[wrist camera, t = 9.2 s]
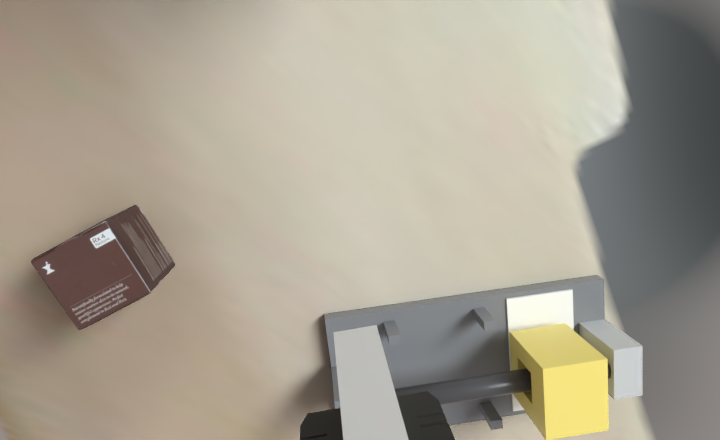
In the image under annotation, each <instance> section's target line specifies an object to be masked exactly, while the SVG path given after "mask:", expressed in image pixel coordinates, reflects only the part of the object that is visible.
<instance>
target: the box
mask: <svg viewBox="0 0 720 440" xmlns="http://www.w3.org/2000/svg"><path fill="white" fill-rule="evenodd" d="M31 263H32V264H33V266H34V267H35V269H36V270H37V271H38V273H39V274H40V276H41V277H42V278H43V280H44V281H45V283H46V284H47V285H48V287H49V288H50V290H51V291H52V292H53V294H54V295H55V297H56V298H57V300H58V301H59V302H60V304H61V305H62V307H63V308H64V310H65V311H66V313H67V314H68V315H69V317H70V318H71V320H72V321H73V323H74V324H75V325H76V327H77V328H78V330H81V329H83V328H86V327H88V326H90V325H92V324H94V323H95V322H97V321H100V320H101V319H103V318H105V317H107V316H109V315H111V314H113V313H114V312H116V311H118V310H120V309H122V308H124V307H126V306H128V305H129V304H131V303H133V302H135V301H137V300H139V299H141V298H143V297H144V296H146V295H148V294H149V293H151V291H152V290H153V289H154V288H155V287H156V286H157V285H158V284H159V283H160V282H161V280H162V279H163V278H164V277H165V276H166V275H167V274H168V273H169V272H170V270H171V269H172V268H173V267H174V266H175V263H174V261H173V259H172V258H171V256H170V255H169V253H168V252H167V250H166V249H165V247H164V246H163V244H162V243H161V241H160V240H159V238H158V236H157V235H156V233H155V232H154V230H153V228H152V227H151V225H150V224H149V222H148V220H147V219H146V217H145V215H144V214H143V212H142V211H141V209H140V208H139V207H138V205H134V206H132V207H130V208H128V209H126V210H124V211H122V212H120V213H118V214H116V215H114V216H112V217H110V218H108V219H106V220H104V221H102V222H100V223H98V224H96V225H95V226H93V227H91V228H89V229H87V230H85V231H83V232H82V233H80V234H78V235H76V236H74V237H72V238H70V239H69V240H67V241H65V242H63V243H61V244H59V245H58V246H56V247H54V248H52V249H50V250H49V251H46V252H45V253H43V254H41V255H39V256H37V257H36V258H34V259H33V260H32V261H31Z"/></svg>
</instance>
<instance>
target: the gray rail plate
mask: <svg viewBox="0 0 720 440" xmlns="http://www.w3.org/2000/svg"><path fill="white" fill-rule="evenodd" d="M324 317H325V326H326V333H327V340H328V347H329V355H330V362H331V370H332V382H333V395H334V405H335V409H337V408H340V399H339V388H338V377H337V366H336V356H335V345H334V334H333V332H339V331H344V330H350V329H356V328H362V327H368V326H374V325H377V328H378V332H379V335H380V339H381V343H382V346H383V350H384V353H385V357H386V360H387V364H388V368H389V371H390V375H391V378H392V382H393V386H394V389H395V393H396V396H402V395H408V394H413V393H419V392H425V391H428V392H429V393H431V394H432V395H433V396H434V397H436V398H437V399H438V400H439V402H440V405H441V407H442V410H443V413H444V414H445V417H446V419H447V423H448V424H449V425H454V424H460V423H467V422H473V421H479V420H485V419H486V421H487V423H488V425H489V426H490V428H491V430H493V429H499V428H503V425H502V419H501V417H504V416H510V415H517V414H523V413H526V411H525V410H524V409H523V407H522V406H521V404H520V403H519V402H518V400H517V399H516V397H515V396H514V395H513V394H515V393H521V392H527V391H532V387H531V373H530V371H529V370H528V369H527V368H525V369H518V370H512V369H511V351H510V334H509V331H516V330H523V329H530V328H536V327H543V326H550V325H556V324H563V323H565V324H566V325H568V326H569V327H570V328H571V329H572V330H574V331H575V332H576V333H577V334H578V335H580V336H581V337H582V338H583V339H584V340H586V341H587V342H588V343H589V344H590V345H591V346H593V347H594V348H595V349H596V350H597V351H599V352H600V353H601V354H602V355H603V356H605V357H606V358H607V359H608V394H609V395H610V396H611V397H612V398H613V399H614V400H615V399H622V398H628V397H634V396H641V395H642V345H640V344H639V343H638V342H636V341H635V340H633V339H632V338H630V337H629V336H628V335H626V334H625V333H624V332H622V331H621V330H619V329H618V328H617V327H615V326H614V325H612V324H611V323H610V322H608V321H607V320H605V317H604V279H603V278H601V277H599V276H597V275H594V276H587V277H580V278H573V279H566V280H559V281H552V282H545V283H538V284H531V285H524V286H517V287H510V288H503V289H496V290H489V291H482V292H475V293H468V294H461V295H454V296H447V297H440V298H433V299H426V300H419V301H412V302H405V303H398V304H392V305H385V306H378V307H371V308H364V309H357V310H350V311H343V312H336V313H329V314H324Z"/></svg>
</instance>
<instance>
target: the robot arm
mask: <svg viewBox="0 0 720 440" xmlns="http://www.w3.org/2000/svg"><path fill="white" fill-rule="evenodd" d="M333 334H334V345H335V356H336V366H337V377H338V388H339V399H340V408H337V409H331V410H326V411H320V412H314V413H309V414H307V416H306V418H305V419H304V421H303V423H302V424H301V427H300V440H455V439H454V436H453V434H452V431H451V429H450V427H449V424H448V423H447V419H446V417H445V414H444V413H443V410H442V407H441V405H440V402H439V400H438V399H437V398H436V397H434V396H433V395H432V394H431V393H429V392H428V391H425V392H419V393H413V394H408V395H402V396H396V393H395V389H394V386H393V382H392V378H391V375H390V371H389V368H388V364H387V360H386V357H385V353H384V350H383V346H382V343H381V339H380V335H379V332H378V328H377V325H374V326H368V327H362V328H356V329H350V330H344V331H339V332H333Z"/></svg>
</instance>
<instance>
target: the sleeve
mask: <svg viewBox="0 0 720 440" xmlns="http://www.w3.org/2000/svg"><path fill="white" fill-rule="evenodd" d="M509 334H510V351H511V369H512V370H518V369H525V368H527V369H528V370H529V371H530V373H531V387H532V391H527V392H521V393H515V394H513V395H514V396H515V397H516V399H517V400H518V402H519V403H520V404H521V406H522V407H523V409H524V410H525V411H526V413H527V414H528V416H529V417H530V418H531V420H532V421H533V423H534V424H535V425H536V427H537V428H538V430H539V431H540V432H541V434H542V435H543V437H544V438H545V439H546V440H551V439H557V438H564V437H570V436H576V435H582V434H588V433H594V432H600V431H606V430H609V416H608V359H607V358H606V357H605V356H603V355H602V354H601V353H600V352H599V351H597V350H596V349H595V348H594V347H593V346H591V345H590V344H589V343H588V342H587V341H586V340H584V339H583V338H582V337H581V336H580V335H578V334H577V333H576V332H575V331H574V330H572V329H571V328H570V327H569V326H568V325H566V324H565V323H563V324H556V325H550V326H543V327H536V328H530V329H523V330H516V331H509Z"/></svg>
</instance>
